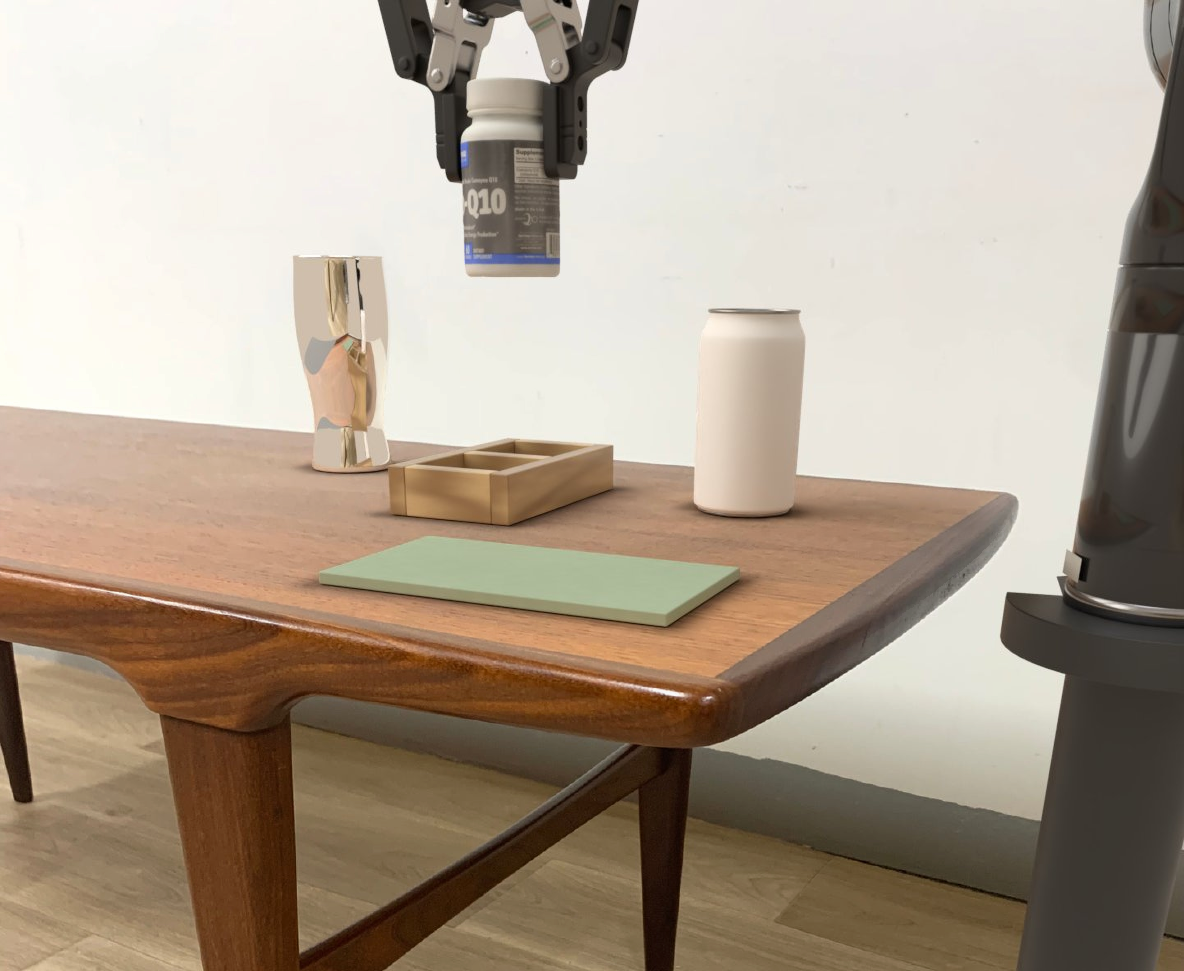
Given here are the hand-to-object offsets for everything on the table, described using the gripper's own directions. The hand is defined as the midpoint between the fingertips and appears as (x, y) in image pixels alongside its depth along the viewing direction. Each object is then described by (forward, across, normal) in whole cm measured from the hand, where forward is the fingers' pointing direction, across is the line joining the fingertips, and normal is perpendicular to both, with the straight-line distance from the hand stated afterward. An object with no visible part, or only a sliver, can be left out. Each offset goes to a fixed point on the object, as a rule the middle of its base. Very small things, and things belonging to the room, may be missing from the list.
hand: (510, 178), depth 59 cm
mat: (+18, -4, +6) cm, 19 cm away
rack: (+18, +9, -14) cm, 25 cm away
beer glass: (+18, +27, -22) cm, 39 cm away
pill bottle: (+5, 0, 0) cm, 5 cm away
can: (+18, -6, -19) cm, 27 cm away
